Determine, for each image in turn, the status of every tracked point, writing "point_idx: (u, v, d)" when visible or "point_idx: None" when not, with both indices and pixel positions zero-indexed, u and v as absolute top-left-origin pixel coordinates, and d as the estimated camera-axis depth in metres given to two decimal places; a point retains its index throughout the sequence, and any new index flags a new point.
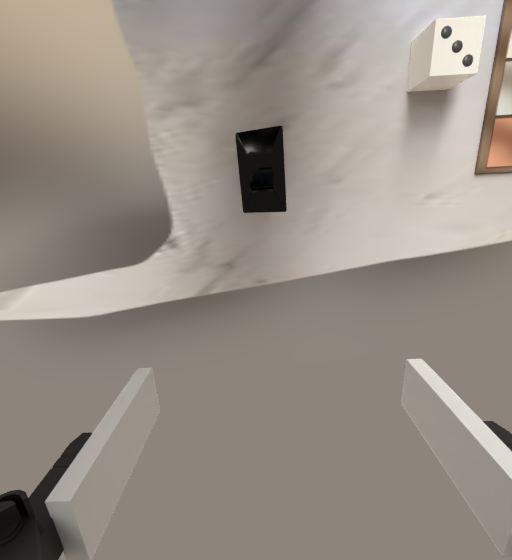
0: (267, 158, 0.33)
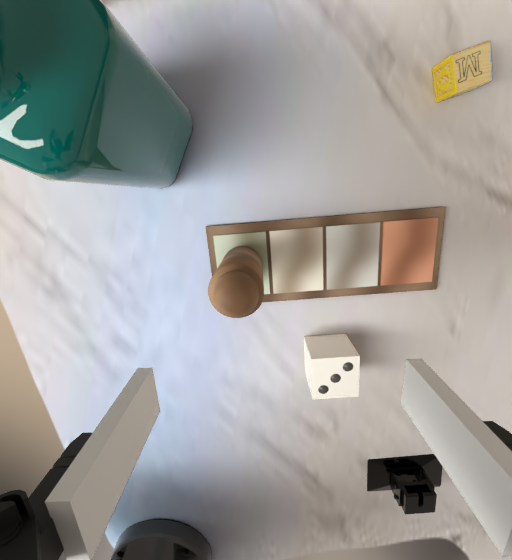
0: (411, 500, 0.36)
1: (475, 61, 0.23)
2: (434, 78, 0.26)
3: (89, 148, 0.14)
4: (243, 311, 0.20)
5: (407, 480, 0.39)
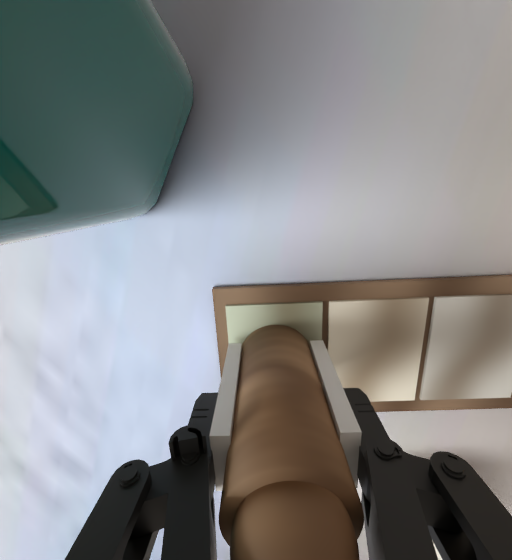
0: None
1: None
2: None
3: None
4: None
5: None
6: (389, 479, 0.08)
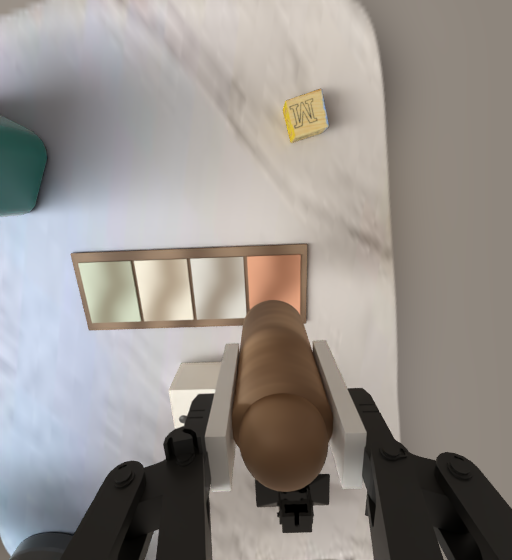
0: (287, 520, 0.36)
1: (309, 108, 0.23)
2: (285, 119, 0.26)
3: None
4: (302, 487, 0.10)
5: (294, 498, 0.39)
6: (394, 480, 0.08)
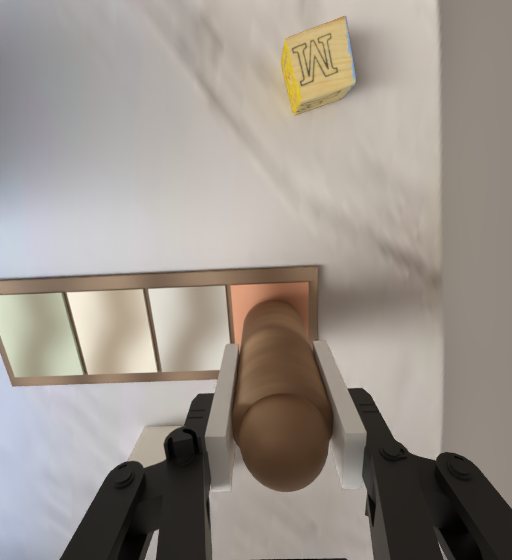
0: None
1: (324, 51, 0.14)
2: (285, 77, 0.17)
3: None
4: (302, 487, 0.10)
5: None
6: (394, 480, 0.08)
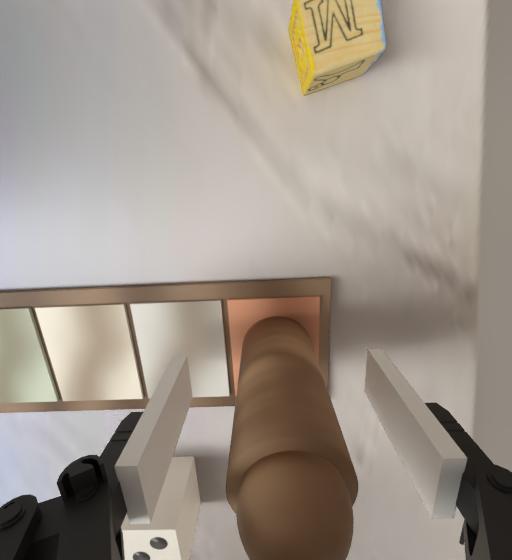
0: None
1: (346, 6, 0.11)
2: (293, 48, 0.14)
3: None
4: None
5: None
6: (506, 513, 0.07)
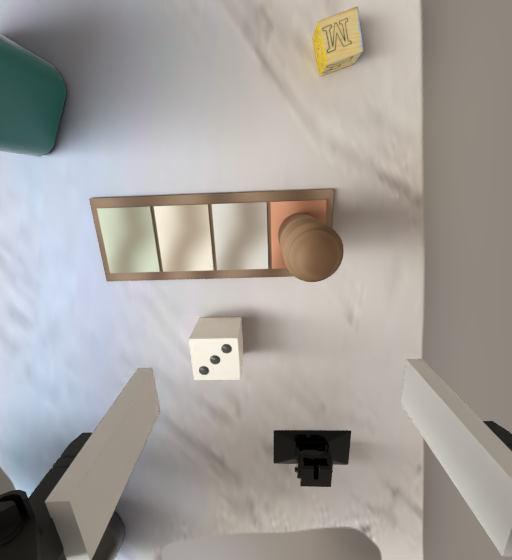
0: (306, 472, 0.35)
1: (343, 29, 0.22)
2: (315, 49, 0.24)
3: None
4: (326, 272, 0.19)
5: (312, 454, 0.38)
6: None
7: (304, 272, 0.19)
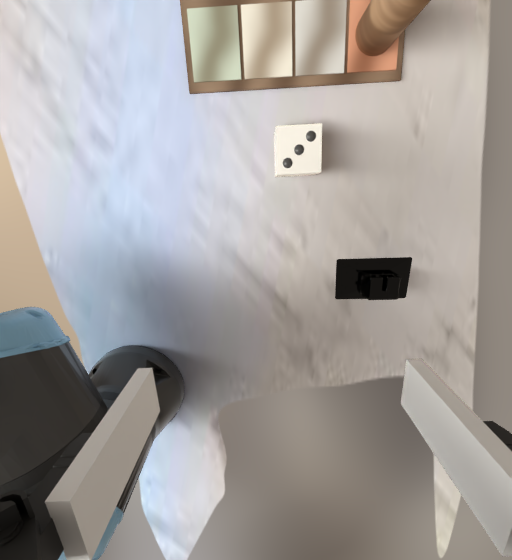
0: (375, 282, 0.36)
1: None
2: None
3: None
4: None
5: None
6: None
7: None
